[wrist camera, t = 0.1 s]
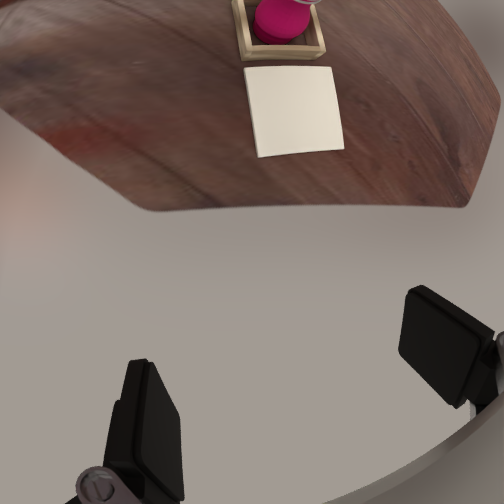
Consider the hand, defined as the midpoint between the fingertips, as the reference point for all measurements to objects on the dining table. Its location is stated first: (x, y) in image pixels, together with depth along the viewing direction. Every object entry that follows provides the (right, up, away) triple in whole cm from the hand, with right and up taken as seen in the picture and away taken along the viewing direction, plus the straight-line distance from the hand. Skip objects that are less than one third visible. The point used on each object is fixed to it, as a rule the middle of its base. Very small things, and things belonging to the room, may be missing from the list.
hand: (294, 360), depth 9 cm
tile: (+5, +24, +27) cm, 36 cm away
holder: (+2, +36, +22) cm, 43 cm away
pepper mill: (+2, +36, +23) cm, 43 cm away
